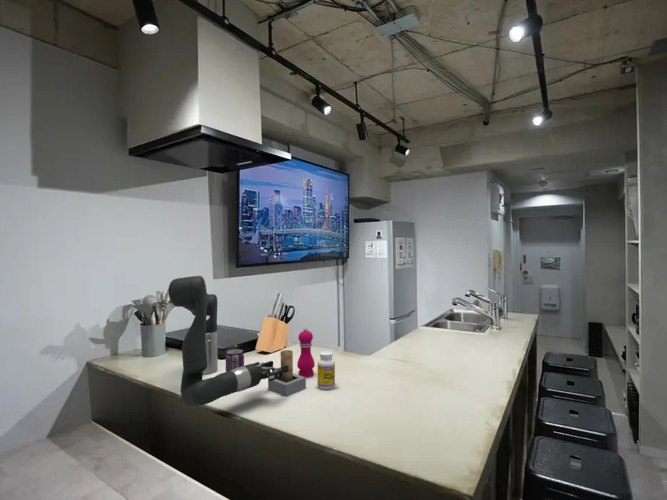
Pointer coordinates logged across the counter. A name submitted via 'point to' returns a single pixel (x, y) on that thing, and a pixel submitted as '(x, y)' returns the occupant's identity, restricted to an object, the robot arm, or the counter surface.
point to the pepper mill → (305, 354)
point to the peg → (287, 360)
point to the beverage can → (234, 359)
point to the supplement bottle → (326, 371)
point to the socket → (287, 385)
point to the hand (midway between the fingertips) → (280, 365)
